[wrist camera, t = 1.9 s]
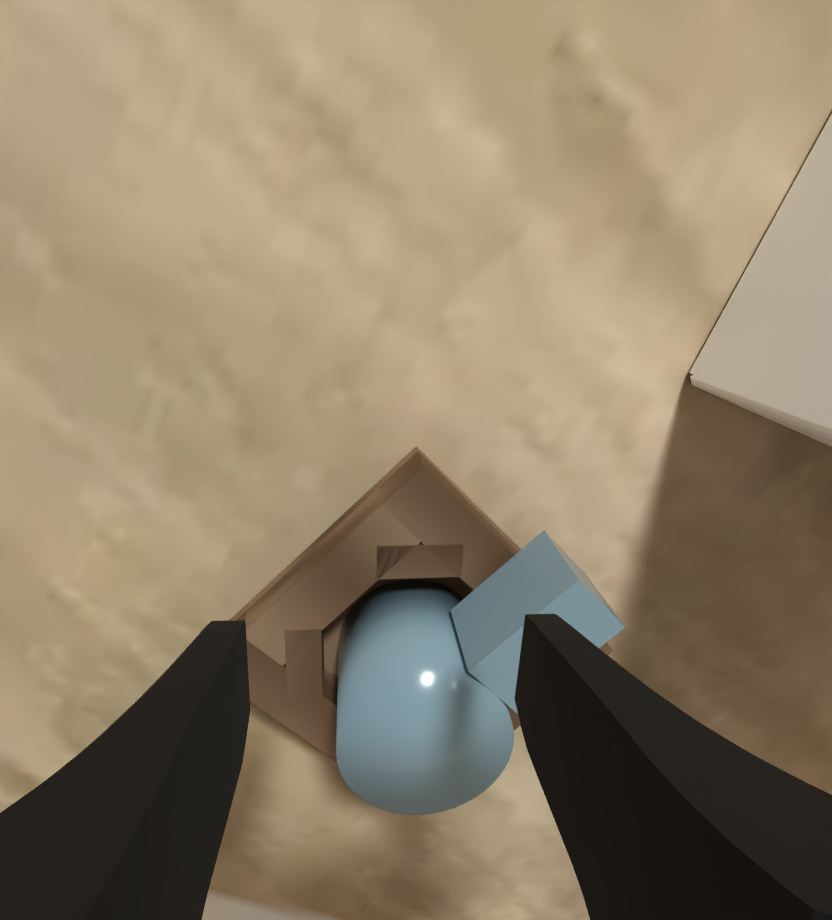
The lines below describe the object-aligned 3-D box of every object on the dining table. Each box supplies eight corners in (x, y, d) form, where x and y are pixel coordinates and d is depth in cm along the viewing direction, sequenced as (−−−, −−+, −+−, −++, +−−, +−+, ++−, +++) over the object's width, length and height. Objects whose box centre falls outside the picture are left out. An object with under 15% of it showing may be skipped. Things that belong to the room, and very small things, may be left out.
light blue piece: (406, 720, 23) (421, 840, 18) (308, 645, 22) (297, 755, 17) (588, 569, 22) (654, 657, 17) (498, 476, 20) (544, 545, 15)
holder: (405, 770, 25) (410, 813, 23) (216, 632, 21) (203, 669, 20) (591, 618, 23) (612, 651, 21) (416, 446, 20) (423, 466, 18)
